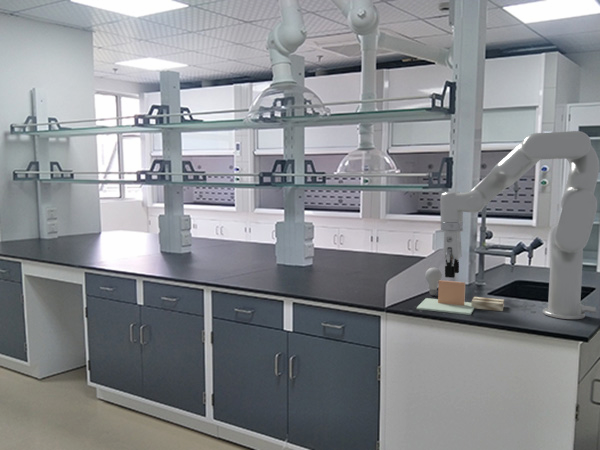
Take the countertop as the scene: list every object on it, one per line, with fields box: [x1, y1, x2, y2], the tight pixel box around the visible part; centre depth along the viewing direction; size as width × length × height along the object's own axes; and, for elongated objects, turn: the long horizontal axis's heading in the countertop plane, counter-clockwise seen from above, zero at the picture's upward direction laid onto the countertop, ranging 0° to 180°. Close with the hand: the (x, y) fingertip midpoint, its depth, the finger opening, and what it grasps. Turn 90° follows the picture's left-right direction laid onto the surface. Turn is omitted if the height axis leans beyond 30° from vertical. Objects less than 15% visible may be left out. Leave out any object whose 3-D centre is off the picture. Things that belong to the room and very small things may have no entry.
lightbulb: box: [424, 267, 443, 297], centre depth 206 cm, size 6×6×11 cm
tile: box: [437, 279, 466, 306], centre depth 191 cm, size 8×2×9 cm
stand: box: [470, 296, 505, 312], centre depth 189 cm, size 10×7×2 cm
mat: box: [416, 297, 476, 316], centre depth 189 cm, size 18×16×1 cm
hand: (452, 275), depth 190 cm, fingers open, 9 cm apart
